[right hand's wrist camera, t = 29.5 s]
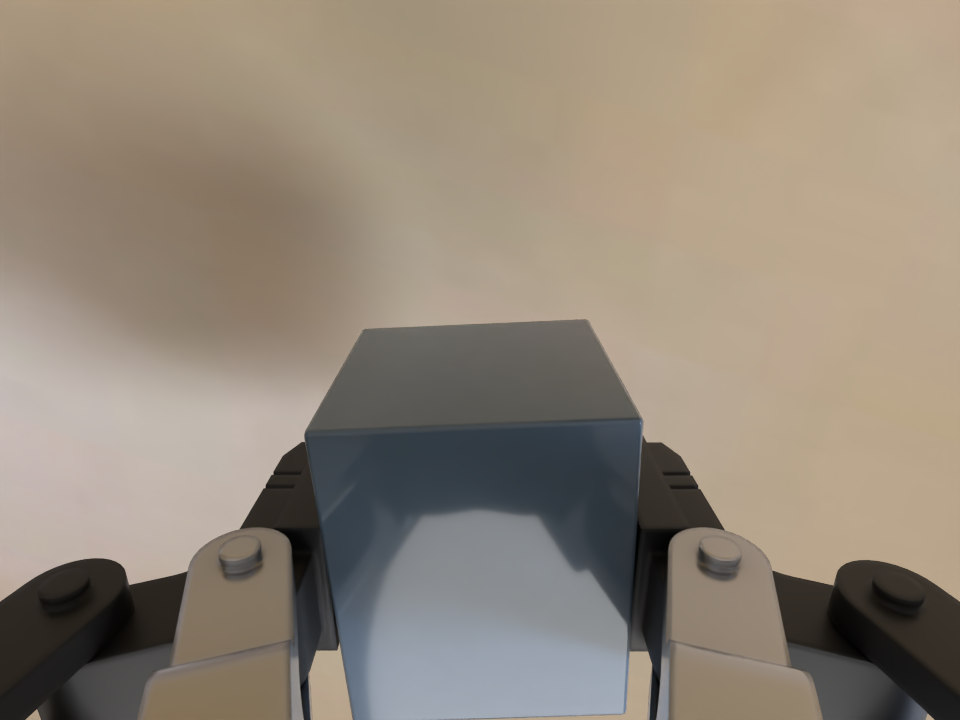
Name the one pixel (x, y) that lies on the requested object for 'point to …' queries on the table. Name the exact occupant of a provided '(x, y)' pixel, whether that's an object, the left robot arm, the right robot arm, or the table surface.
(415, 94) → the table surface
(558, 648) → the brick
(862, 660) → the right robot arm
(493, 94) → the table surface
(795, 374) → the table surface
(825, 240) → the table surface
